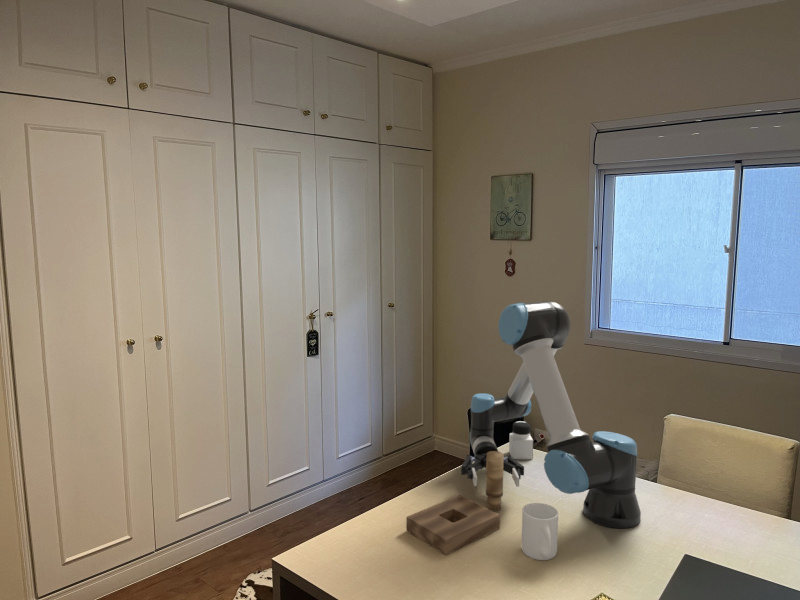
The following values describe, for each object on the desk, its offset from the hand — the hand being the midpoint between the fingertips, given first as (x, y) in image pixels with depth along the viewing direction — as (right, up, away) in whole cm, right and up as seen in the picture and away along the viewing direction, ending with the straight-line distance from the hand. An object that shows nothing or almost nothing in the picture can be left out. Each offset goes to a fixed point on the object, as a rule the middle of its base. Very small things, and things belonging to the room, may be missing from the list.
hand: (496, 481), depth 163 cm
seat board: (-13, -10, -7) cm, 18 cm away
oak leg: (0, -9, +5) cm, 10 cm away
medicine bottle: (+16, -5, +44) cm, 47 cm away
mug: (+8, -12, -20) cm, 24 cm away
